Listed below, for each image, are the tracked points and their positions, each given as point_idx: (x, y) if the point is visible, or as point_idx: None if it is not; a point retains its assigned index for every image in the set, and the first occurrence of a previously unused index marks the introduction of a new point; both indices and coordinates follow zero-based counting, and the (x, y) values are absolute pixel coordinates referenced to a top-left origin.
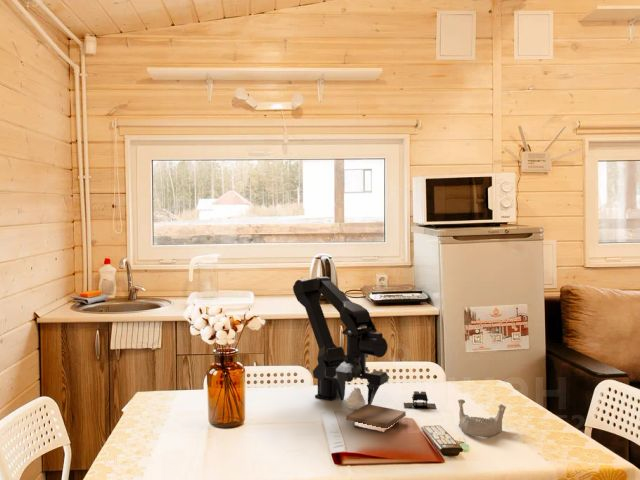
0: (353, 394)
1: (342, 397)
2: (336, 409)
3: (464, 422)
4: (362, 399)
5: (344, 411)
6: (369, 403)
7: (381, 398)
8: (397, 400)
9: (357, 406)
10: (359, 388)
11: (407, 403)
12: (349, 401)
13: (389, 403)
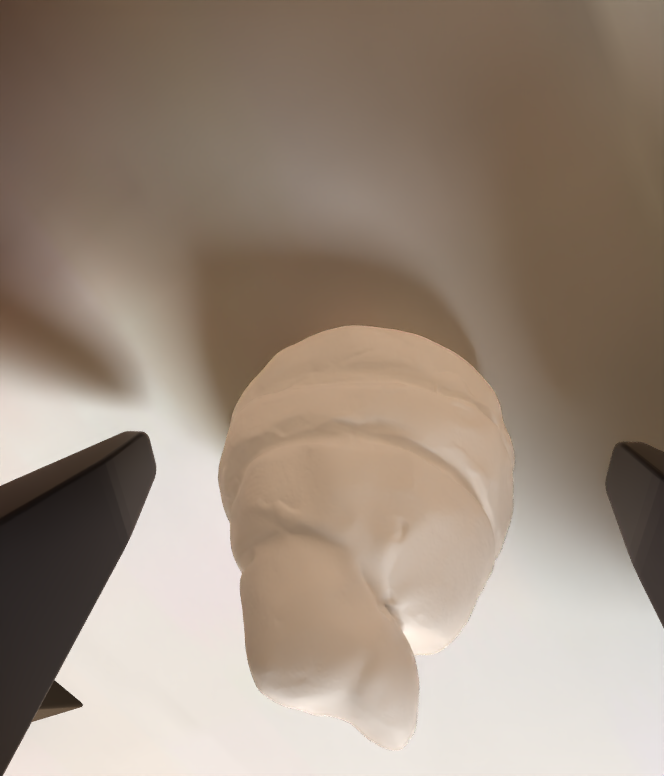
0: (368, 501)
1: (635, 478)
2: (590, 150)
3: None
4: (222, 489)
5: (411, 141)
6: (95, 444)
7: (293, 725)
8: (156, 727)
9: (275, 355)
10: (259, 689)
11: None
12: (423, 371)
13: (152, 655)
